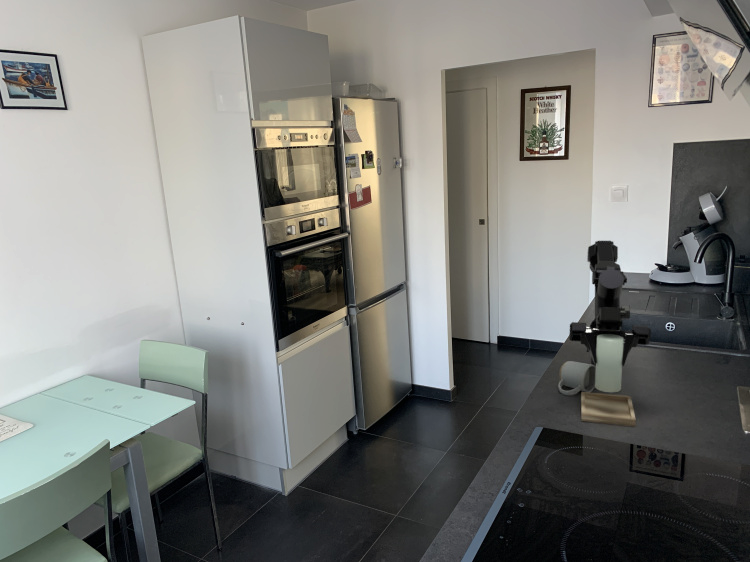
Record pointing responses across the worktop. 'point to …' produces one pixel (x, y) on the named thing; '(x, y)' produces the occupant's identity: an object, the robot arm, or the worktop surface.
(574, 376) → the ceramic mug
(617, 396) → the tray
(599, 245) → the robot arm
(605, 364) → the pillar candle
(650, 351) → the worktop surface
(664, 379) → the worktop surface
